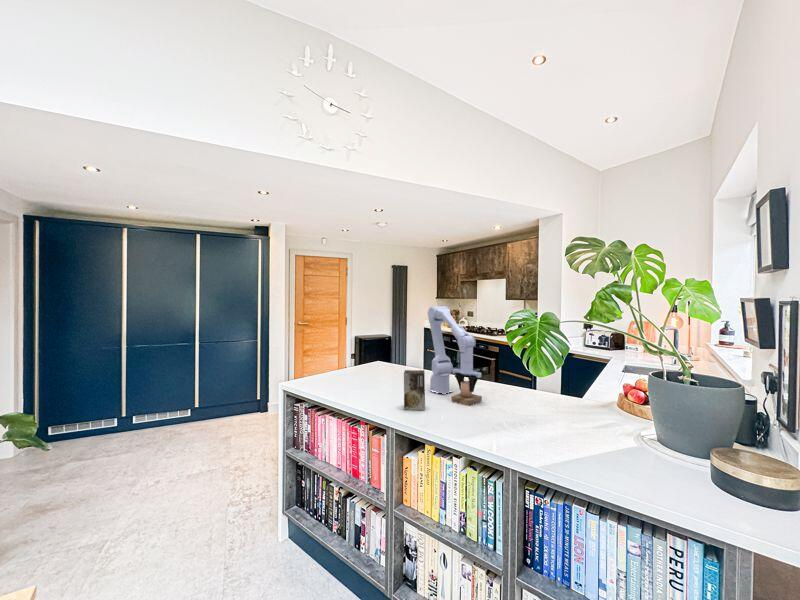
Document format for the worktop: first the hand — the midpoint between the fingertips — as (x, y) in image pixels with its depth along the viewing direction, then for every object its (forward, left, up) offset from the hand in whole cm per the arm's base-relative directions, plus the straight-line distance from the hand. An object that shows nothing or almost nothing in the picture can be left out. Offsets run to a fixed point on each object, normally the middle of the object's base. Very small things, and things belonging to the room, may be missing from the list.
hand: (466, 390), depth 164 cm
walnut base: (0, 0, -5) cm, 5 cm away
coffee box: (-11, -24, -5) cm, 27 cm away
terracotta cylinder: (0, 0, -2) cm, 2 cm away
